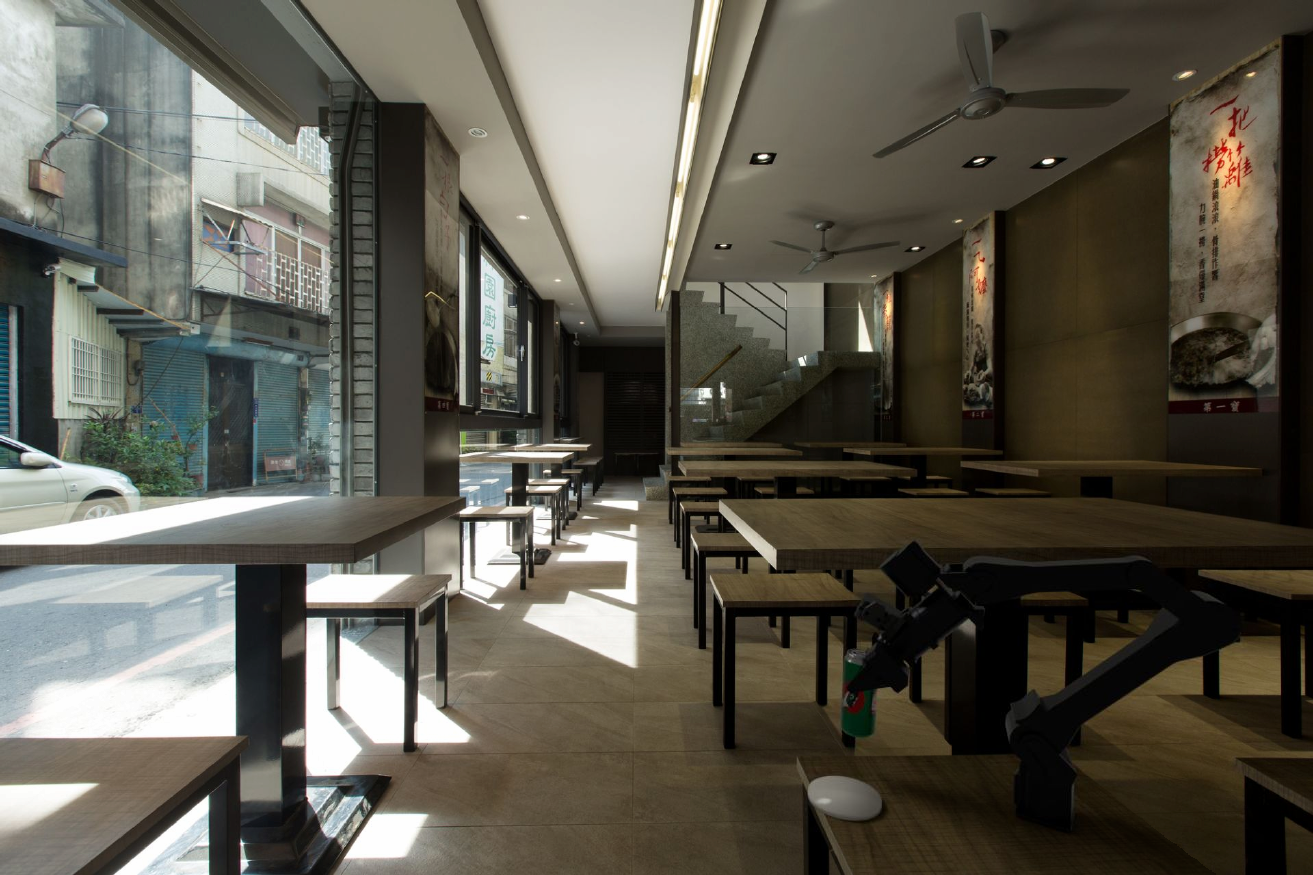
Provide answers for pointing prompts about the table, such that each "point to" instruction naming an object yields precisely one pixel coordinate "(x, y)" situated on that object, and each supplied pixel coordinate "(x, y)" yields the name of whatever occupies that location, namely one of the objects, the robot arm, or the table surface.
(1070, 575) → the robot arm
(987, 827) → the table surface
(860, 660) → the soda can
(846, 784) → the coaster
